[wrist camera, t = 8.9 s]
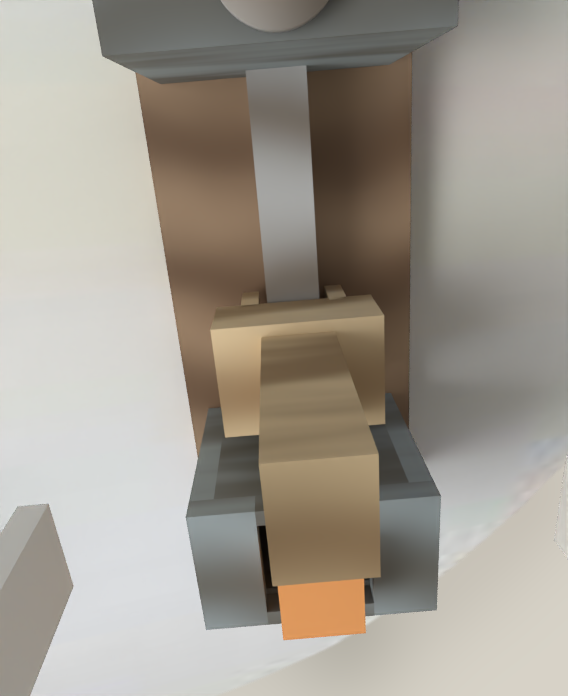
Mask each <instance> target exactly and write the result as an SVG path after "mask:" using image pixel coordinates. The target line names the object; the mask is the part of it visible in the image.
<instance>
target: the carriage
mask: <svg viewBox="0 0 568 696" xmlns="http://www.w3.org/2000/svg"><path fill="white" fill-rule="evenodd" d="M324 295H325V298H323V299H311V300H300V301H288V302H276V303H264V304H260V298H259V291H258V292H247V293H243V294H242V301H241V306H229V307H217V308H216V311H215V315H214V319H213V322H212V326H211V329H210V331H211V339H212V346H213V353H214V360H215V368H216V375H217V382H218V389H219V397H220V404H221V411H222V418H223V426H224V433H225V438H226V437H238V436H250V435H259V472H260V481H261V490H262V498H263V507H264V516H265V525H266V534H267V542H268V551H269V560H270V569H271V578H272V586H284V585H295V584H307V583H319V582H330V581H342V580H354V579H365V578H377V577H381V568H380V503H379V453H378V450H377V448H376V445H375V442H374V439H373V436H372V433H371V431H370V428H369V425H379V424H385V350H384V314H383V313H382V311H381V310H380V308H379V307H378V305H377V304H376V302H375V300H374V299H373V297H372V296H371V294H370V295H358V296H347V297H346V295H345V293H344V291H343V289H342V287H341V285H329V286H324Z"/></svg>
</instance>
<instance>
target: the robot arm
mask: <svg viewBox="0 0 568 696" xmlns="http://www.w3.org/2000/svg"><path fill="white" fill-rule="evenodd" d="M554 541H555V542H556V544H557V545H558V546H559V548H560V549H561V550H562V552H563V553H564V555H565V556H566V557H567V559H568V455H567V456H566V462H565V469H564V476H563V483H562V490H561V496H560V503H559V510H558V517H557V524H556V530H555V538H554ZM72 589H73V583H72V580H71V577H70V573H69V570H68V567H67V563H66V560H65V557H64V554H63V550H62V547H61V544H60V540H59V537H58V534H57V531H56V527H55V524H54V521H53V517H52V514H51V511H50V508H49V504H40V505H29V506H19V507H17V508H16V510H15V512H14V513H13V515H12V516H11V518H10V520H9V521H8V523H7V524H6V526H5V528H4V529H3V531H2V532H1V534H0V696H30V694H31V692H32V689H33V687H34V684H35V682H36V679H37V677H38V674H39V672H40V669H41V667H42V664H43V662H44V659H45V657H46V654H47V652H48V649H49V647H50V644H51V642H52V639H53V636H54V634H55V631H56V629H57V626H58V624H59V621H60V619H61V616H62V614H63V611H64V609H65V606H66V604H67V601H68V599H69V596H70V594H71V591H72Z"/></svg>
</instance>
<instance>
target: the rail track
mask: <svg viewBox="0 0 568 696" xmlns="http://www.w3.org/2000/svg"><path fill="white" fill-rule="evenodd" d="M92 1H93V7H94V12H95V18H96V23H97V29H98V35H99V40H100V46H101V51H102V56H103V57H105V58H107V59H110V60H112V61H114V62H116V63H118V64H120V65H122V66H124V67H126V68H128V69H130V70H132V71H134V72H135V73H136V79H137V85H138V91H139V97H140V103H141V110H142V116H143V122H144V128H145V134H146V140H147V146H148V153H149V159H150V165H151V171H152V177H153V183H154V190H155V196H156V202H157V208H158V214H159V220H160V227H161V233H162V239H163V245H164V251H165V257H166V264H167V270H168V276H169V282H170V288H171V294H172V301H173V307H174V313H175V319H176V325H177V331H178V338H179V344H180V350H181V356H182V362H183V368H184V375H185V381H186V387H187V393H188V399H189V405H190V412H191V418H192V424H193V430H194V436H195V442H196V449H197V455H198V461H197V466H196V471H195V476H194V481H193V486H192V490H191V495H190V500H189V505H188V510H187V515H186V521H187V527H188V532H189V538H190V543H191V549H192V554H193V560H194V565H195V571H196V576H197V582H198V587H199V593H200V599H201V604H202V610H203V615H204V621H205V626H206V630H211V629H222V628H234V627H246V626H257V625H269V624H280V623H282V622H281V613H280V604H279V595H278V586H272V578H271V569H270V560H269V551H268V542H267V534H266V525H265V516H264V507H263V498H262V490H261V481H260V472H259V435H250V436H238V437H226V438H225V433H224V426H223V418H222V411H221V404H220V397H219V389H218V382H217V375H216V368H215V360H214V353H213V346H212V339H211V331H210V329H211V326H212V322H213V319H214V315H215V311H216V308H217V307H229V306H241V301H242V294H243V293H247V292H258V291H259V298H260V304H264V303H276V302H288V301H300V300H311V299H323V298H325V295H324V286H329V285H341V287H342V289H343V291H344V293H345V295H346V297H347V296H358V295H370V294H371V296H372V297H373V299H374V300H375V302H376V304H377V305H378V307H379V308H380V310H381V311H382V313H383V314H384V350H385V424H379V425H369V428H370V431H371V433H372V436H373V439H374V442H375V445H376V448H377V450H378V453H379V503H380V568H381V577H377V578H365V579H364V595H365V616H374V615H385V614H396V613H409V612H420V611H432V610H436V609H437V587H438V560H439V532H440V504H441V495H440V493H439V491H438V489H437V487H436V485H435V483H434V481H433V479H432V477H431V475H430V473H429V470H428V468H427V466H426V464H425V462H424V460H423V458H422V456H421V454H420V452H419V450H418V448H417V446H416V444H415V442H414V440H413V438H412V436H411V433H410V431H409V333H410V217H411V101H412V52H413V51H414V50H416V49H418V48H420V47H421V46H423V45H425V44H427V43H429V42H430V41H432V40H434V39H436V38H437V37H439V36H441V35H443V34H444V33H446V32H448V31H450V30H452V29H453V28H455V27H457V26H458V5H459V0H92Z"/></svg>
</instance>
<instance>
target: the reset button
mask: <svg viewBox="0 0 568 696" xmlns="http://www.w3.org/2000/svg"><path fill="white" fill-rule="evenodd" d="M278 595H279V604H280V613H281V622H282V631H283V640H291V639H303V638H315V637H326V636H338V635H350V634H361V633H366V628H365V595H364V579H354V580H342V581H330V582H319V583H307V584H295V585H284V586H278Z"/></svg>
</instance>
